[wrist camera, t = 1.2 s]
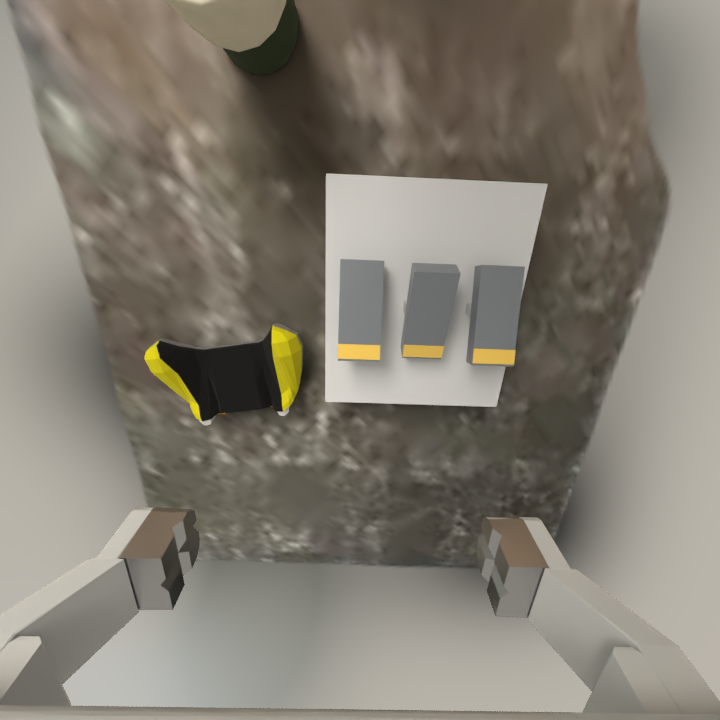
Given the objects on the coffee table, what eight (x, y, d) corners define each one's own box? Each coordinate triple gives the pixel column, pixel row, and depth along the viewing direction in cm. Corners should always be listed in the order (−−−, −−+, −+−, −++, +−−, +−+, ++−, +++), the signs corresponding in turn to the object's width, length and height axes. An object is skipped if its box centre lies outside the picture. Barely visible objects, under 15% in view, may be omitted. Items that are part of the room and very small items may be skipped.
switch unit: (330, 176, 32) (324, 172, 26) (520, 185, 32) (556, 183, 27) (328, 380, 40) (324, 410, 35) (480, 385, 41) (500, 416, 35)
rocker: (412, 262, 28) (414, 272, 26) (456, 264, 28) (460, 274, 26) (400, 346, 33) (402, 358, 31) (437, 348, 33) (441, 359, 31)
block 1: (341, 260, 29) (340, 258, 28) (382, 262, 30) (384, 260, 28) (338, 357, 31) (337, 360, 29) (378, 358, 31) (379, 362, 29)
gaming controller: (160, 328, 38) (191, 409, 42) (129, 348, 33) (168, 438, 37) (301, 309, 37) (318, 393, 41) (292, 327, 32) (313, 421, 36)
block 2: (475, 266, 30) (482, 264, 28) (515, 267, 30) (525, 266, 28) (466, 361, 31) (472, 365, 30) (505, 363, 31) (513, 367, 30)
